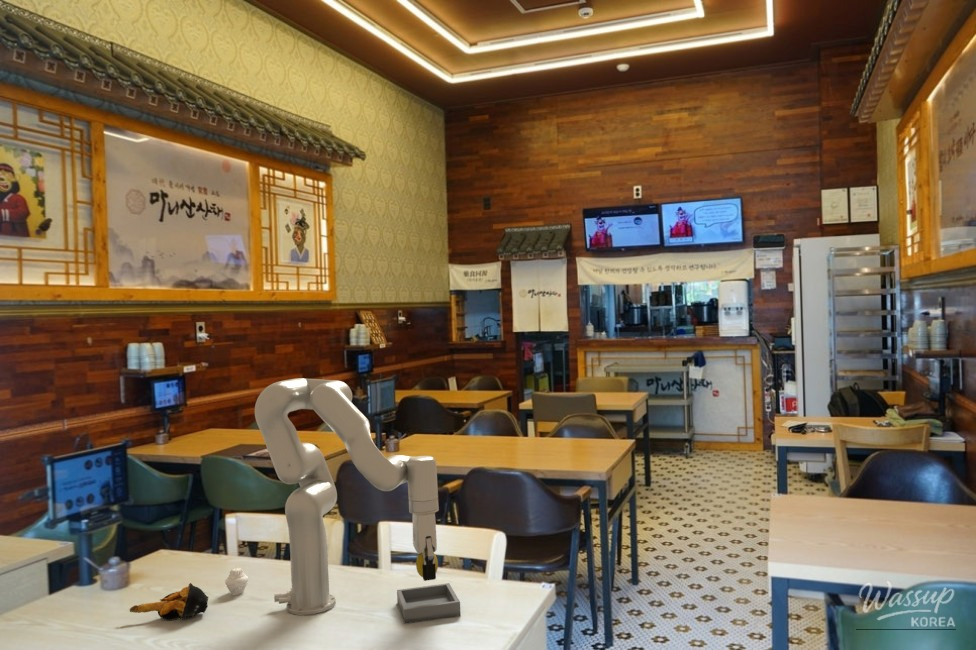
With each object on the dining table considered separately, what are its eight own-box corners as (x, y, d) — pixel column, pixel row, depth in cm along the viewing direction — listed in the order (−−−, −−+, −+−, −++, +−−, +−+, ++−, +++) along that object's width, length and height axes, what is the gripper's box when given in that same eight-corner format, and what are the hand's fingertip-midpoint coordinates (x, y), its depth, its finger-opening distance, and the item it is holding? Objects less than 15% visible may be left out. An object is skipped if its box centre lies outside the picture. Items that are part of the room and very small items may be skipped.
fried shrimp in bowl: (210, 603, 187) (135, 591, 181) (198, 636, 190) (124, 627, 184) (214, 578, 195) (142, 567, 189) (202, 611, 198) (131, 601, 192)
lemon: (435, 584, 185) (433, 552, 185) (414, 583, 186) (412, 552, 186) (441, 576, 191) (439, 545, 191) (420, 576, 192) (419, 545, 192)
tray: (404, 623, 180) (404, 609, 180) (397, 603, 194) (396, 589, 194) (460, 615, 183) (460, 601, 183) (449, 596, 197) (449, 583, 197)
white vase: (252, 591, 207) (251, 567, 207) (232, 598, 202) (231, 573, 202) (241, 587, 211) (240, 562, 211) (221, 593, 206) (220, 568, 206)
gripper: (404, 499, 196) (408, 567, 196) (414, 514, 179) (418, 589, 179) (432, 496, 198) (436, 563, 198) (444, 511, 181) (448, 584, 181)
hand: (427, 575), depth 188 cm, fingers closed on lemon, 5 cm apart
